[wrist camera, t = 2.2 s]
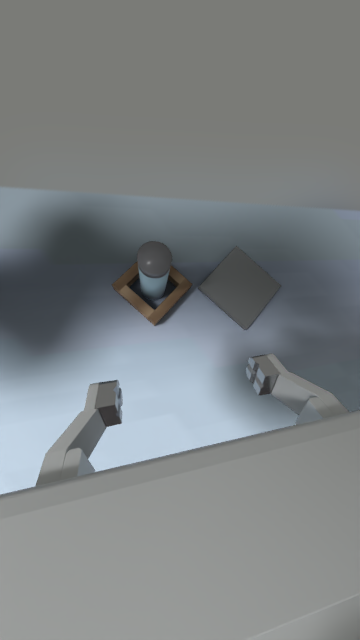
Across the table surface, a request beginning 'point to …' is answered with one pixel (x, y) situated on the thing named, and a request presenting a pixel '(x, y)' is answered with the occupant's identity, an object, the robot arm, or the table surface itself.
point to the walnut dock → (143, 307)
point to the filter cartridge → (153, 268)
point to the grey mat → (240, 287)
